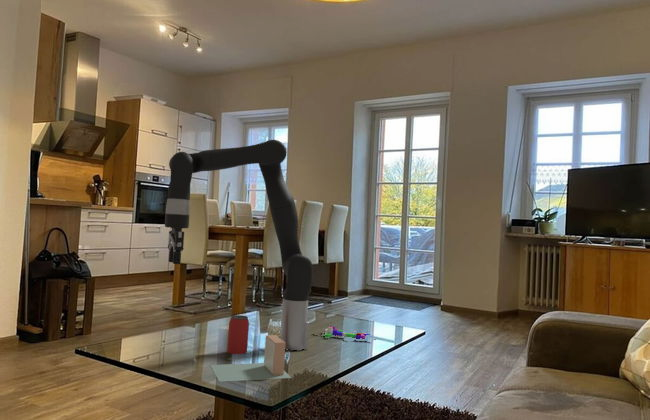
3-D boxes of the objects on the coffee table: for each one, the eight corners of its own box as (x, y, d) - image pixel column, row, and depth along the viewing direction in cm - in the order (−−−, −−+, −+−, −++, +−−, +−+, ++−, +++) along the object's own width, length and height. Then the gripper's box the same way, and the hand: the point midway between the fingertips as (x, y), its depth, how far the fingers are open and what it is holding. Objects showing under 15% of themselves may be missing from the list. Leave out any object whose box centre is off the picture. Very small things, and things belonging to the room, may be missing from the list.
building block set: (381, 337, 200) (381, 326, 200) (368, 346, 181) (369, 334, 181) (326, 330, 209) (327, 319, 209) (308, 338, 190) (309, 326, 190)
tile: (273, 365, 142) (275, 335, 143) (283, 374, 133) (285, 342, 134) (263, 365, 141) (265, 335, 142) (272, 375, 132) (274, 342, 132)
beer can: (229, 356, 152) (232, 318, 152) (224, 351, 158) (227, 315, 158) (249, 355, 155) (252, 318, 155) (243, 350, 161) (245, 314, 161)
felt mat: (275, 364, 146) (275, 362, 146) (291, 380, 131) (291, 377, 131) (209, 367, 138) (210, 365, 138) (219, 383, 123) (219, 381, 123)
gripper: (193, 213, 150) (190, 265, 149) (185, 214, 162) (182, 261, 161) (169, 212, 146) (165, 264, 145) (162, 213, 159) (159, 261, 158)
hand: (174, 263), depth 153 cm, fingers open, 8 cm apart
